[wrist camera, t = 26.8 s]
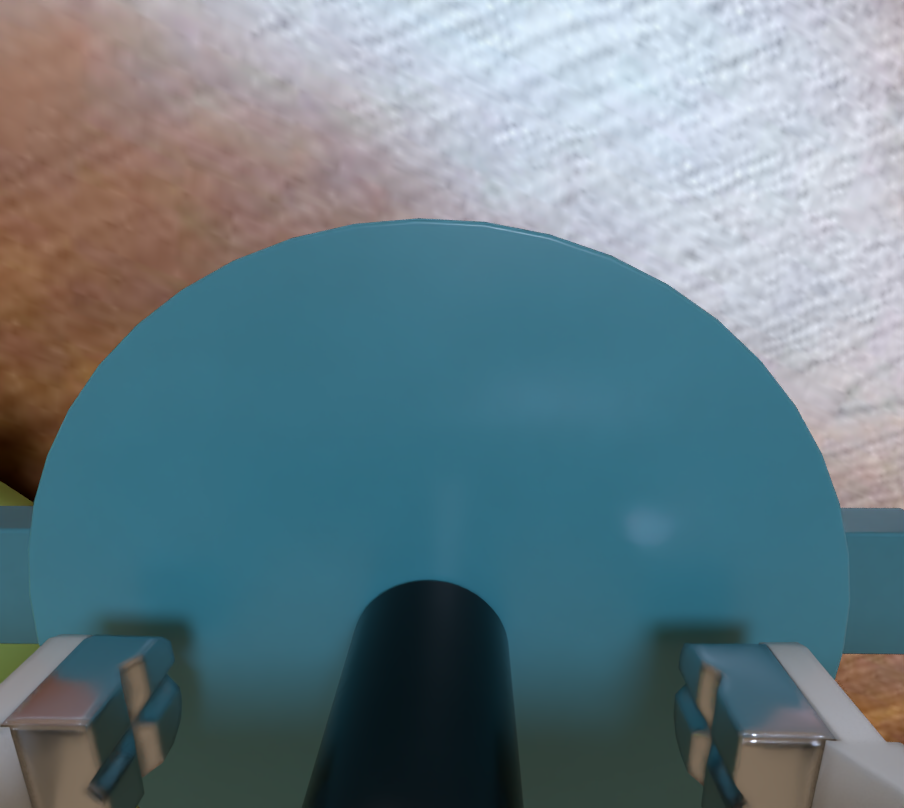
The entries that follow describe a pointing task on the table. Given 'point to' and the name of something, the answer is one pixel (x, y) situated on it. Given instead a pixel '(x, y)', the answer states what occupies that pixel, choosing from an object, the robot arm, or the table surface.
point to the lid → (434, 521)
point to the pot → (867, 529)
